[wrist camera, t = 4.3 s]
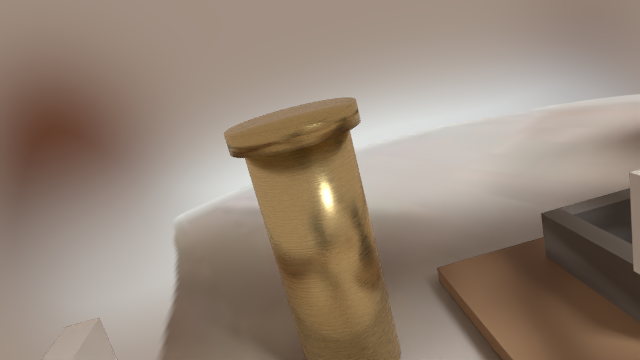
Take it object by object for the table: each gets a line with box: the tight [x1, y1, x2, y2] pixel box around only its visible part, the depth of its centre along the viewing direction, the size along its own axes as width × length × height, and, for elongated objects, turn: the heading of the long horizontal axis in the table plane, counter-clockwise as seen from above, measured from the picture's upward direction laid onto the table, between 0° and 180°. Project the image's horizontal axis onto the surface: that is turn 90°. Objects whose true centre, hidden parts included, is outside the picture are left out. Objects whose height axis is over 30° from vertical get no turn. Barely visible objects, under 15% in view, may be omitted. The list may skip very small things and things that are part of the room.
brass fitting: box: [224, 98, 401, 360], centre depth 23 cm, size 6×6×14 cm
